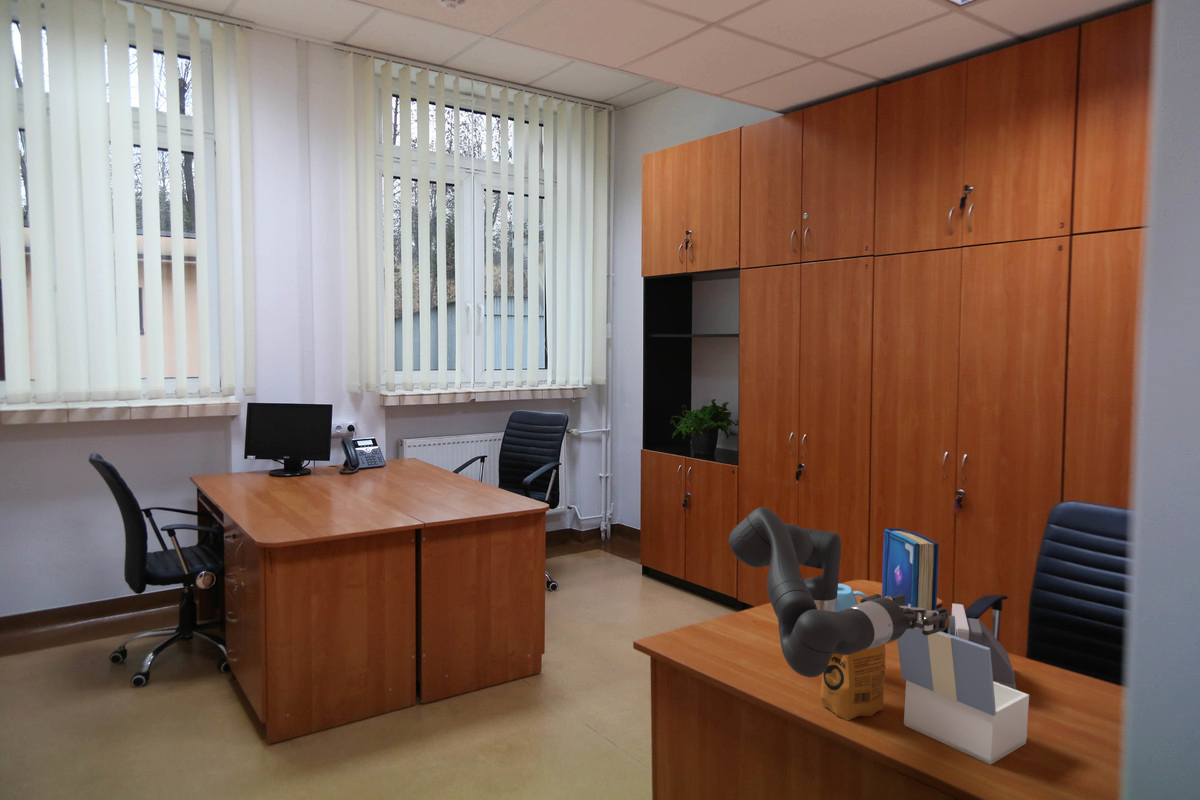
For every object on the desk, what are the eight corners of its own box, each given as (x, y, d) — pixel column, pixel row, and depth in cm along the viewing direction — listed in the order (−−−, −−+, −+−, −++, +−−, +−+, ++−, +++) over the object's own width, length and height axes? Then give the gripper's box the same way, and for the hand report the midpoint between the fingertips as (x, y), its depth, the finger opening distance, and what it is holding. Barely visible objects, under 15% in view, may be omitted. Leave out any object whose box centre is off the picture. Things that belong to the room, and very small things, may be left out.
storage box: (990, 764, 142) (993, 713, 141) (903, 724, 157) (906, 678, 156) (1026, 743, 150) (1029, 694, 149) (940, 707, 165) (943, 662, 164)
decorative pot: (824, 642, 200) (826, 592, 199) (788, 621, 215) (790, 574, 214) (873, 635, 206) (876, 586, 205) (835, 614, 221) (837, 569, 220)
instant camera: (929, 653, 195) (932, 596, 194) (1020, 672, 184) (1024, 612, 183) (916, 683, 176) (919, 621, 175) (1017, 706, 166) (1021, 640, 165)
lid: (996, 713, 141) (993, 716, 140) (904, 676, 156) (901, 678, 156) (990, 648, 138) (987, 650, 137) (896, 616, 153) (894, 618, 153)
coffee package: (813, 703, 166) (817, 605, 164) (856, 693, 171) (860, 598, 169) (845, 724, 157) (849, 621, 155) (890, 713, 162) (894, 613, 160)
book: (877, 604, 230) (881, 524, 228) (899, 604, 231) (903, 524, 229) (912, 631, 209) (916, 543, 207) (936, 631, 209) (941, 543, 207)
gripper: (911, 614, 125) (962, 597, 135) (838, 591, 137) (890, 576, 146) (908, 658, 126) (959, 638, 135) (837, 631, 137) (888, 614, 147)
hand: (923, 606), depth 141 cm, fingers open, 8 cm apart
